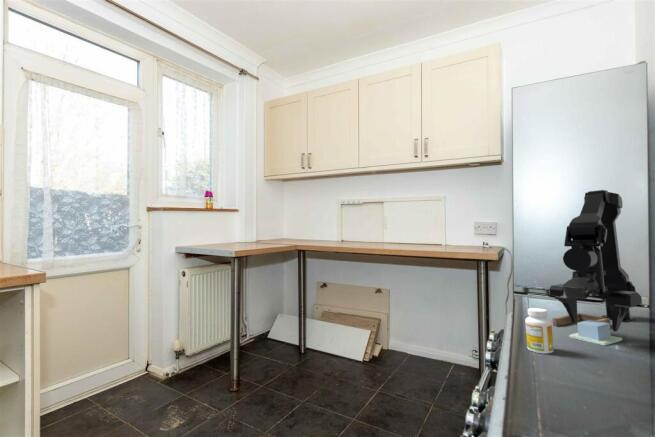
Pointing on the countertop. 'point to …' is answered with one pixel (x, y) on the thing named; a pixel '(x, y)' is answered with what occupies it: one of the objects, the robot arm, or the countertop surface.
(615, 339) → the mat
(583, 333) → the block
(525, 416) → the countertop surface
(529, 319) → the supplement bottle
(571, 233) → the robot arm
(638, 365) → the countertop surface
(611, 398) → the countertop surface
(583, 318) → the u-shaped frame
